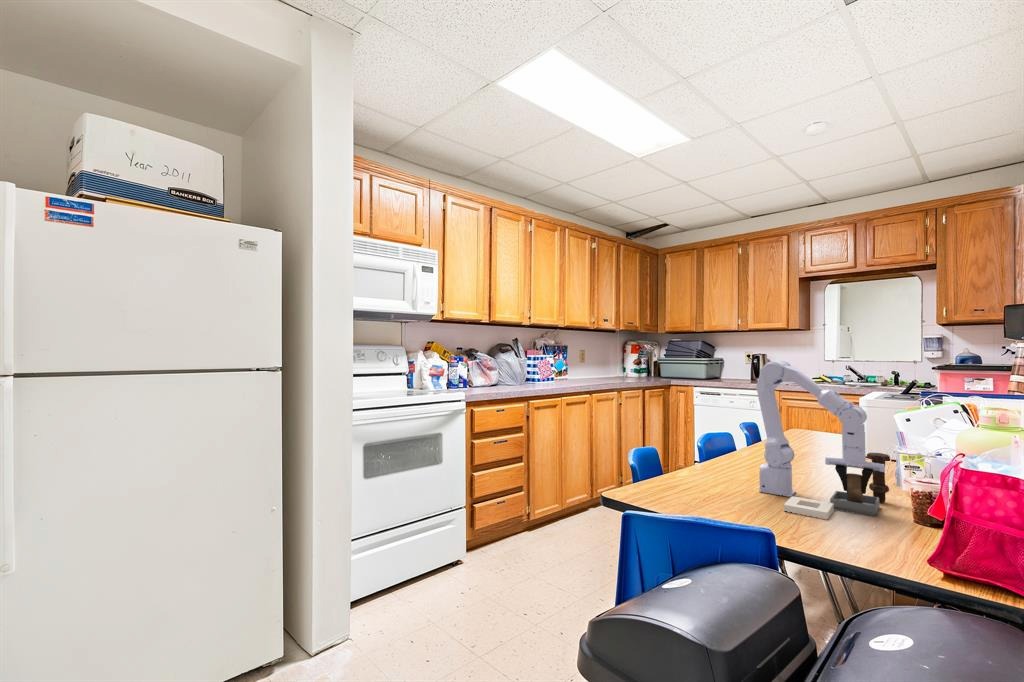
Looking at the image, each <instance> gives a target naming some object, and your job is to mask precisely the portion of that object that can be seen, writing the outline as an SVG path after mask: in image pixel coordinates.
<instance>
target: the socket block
mask: <svg viewBox="0 0 1024 682" xmlns="http://www.w3.org/2000/svg"><path fill="white" fill-rule="evenodd" d="M784 511H787V512H786V513H790V512H792V513H791V514H795V513H797V514H796V515H800V514H802V515H801V516H805V515H806V516H807V517H810V516H812V518H816V517H817V519H820V520H821V519H822V520H827V521H828V520H829V518H830V517H831V515H832V513H833V512H834V511H835V509H834V503H830V502H827V501H821V500H817V499H810V498H803V497H799V496H793V495H792V496H791V497H789V498H788V500H787V501H785V503H784V504H783V512H784ZM806 516H805V517H806Z"/></svg>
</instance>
